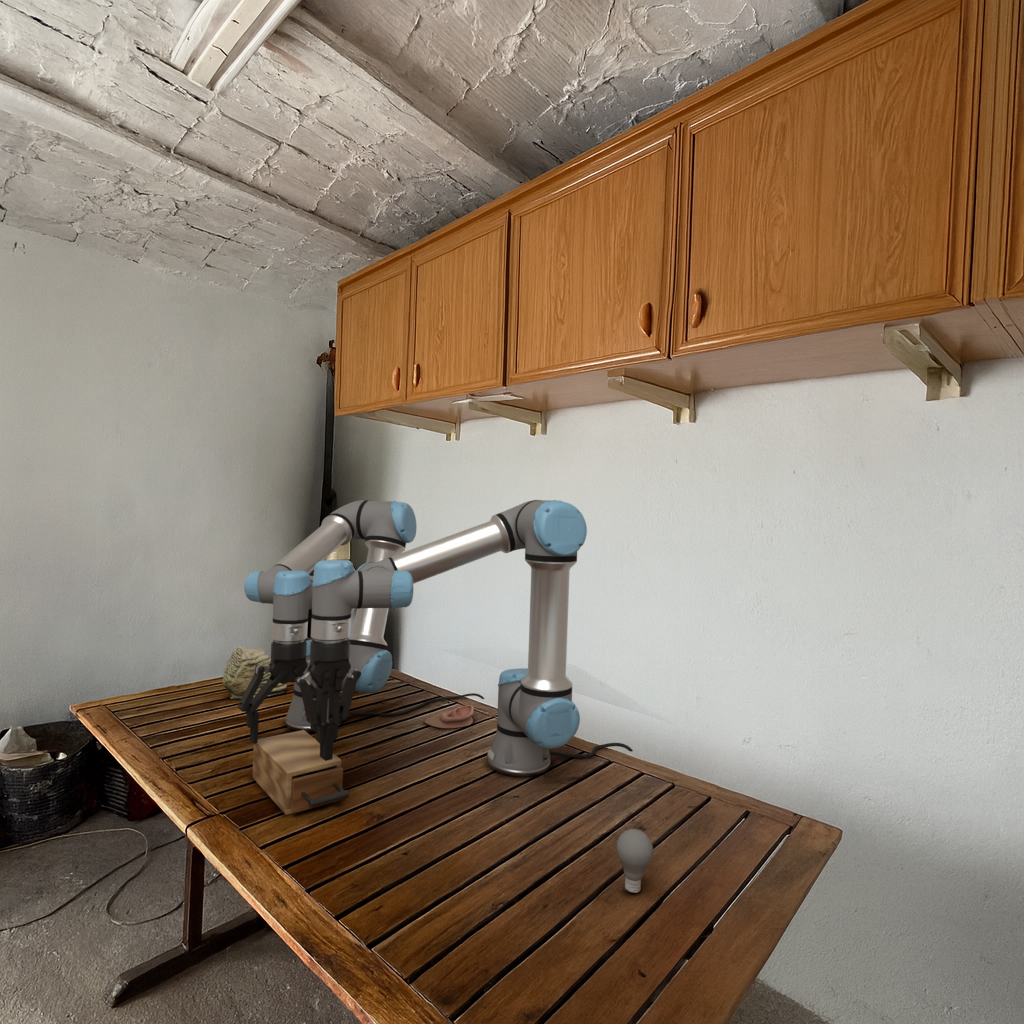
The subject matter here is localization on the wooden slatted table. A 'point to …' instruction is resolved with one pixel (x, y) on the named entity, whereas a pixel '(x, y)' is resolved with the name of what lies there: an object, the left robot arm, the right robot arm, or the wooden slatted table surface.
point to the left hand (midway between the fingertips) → (284, 735)
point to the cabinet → (286, 763)
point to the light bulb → (634, 857)
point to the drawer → (317, 789)
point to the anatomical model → (452, 718)
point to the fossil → (246, 671)
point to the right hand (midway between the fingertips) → (326, 757)
